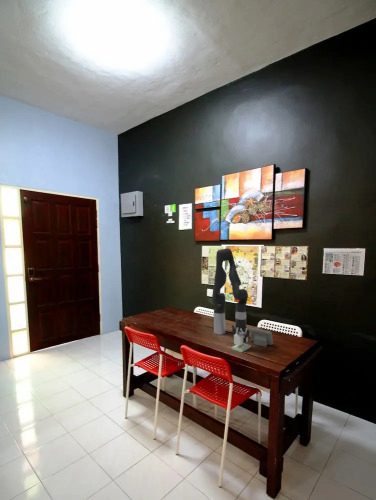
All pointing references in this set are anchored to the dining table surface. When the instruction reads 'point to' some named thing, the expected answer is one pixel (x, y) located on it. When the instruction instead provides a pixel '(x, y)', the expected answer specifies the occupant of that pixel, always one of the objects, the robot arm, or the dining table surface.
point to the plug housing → (239, 338)
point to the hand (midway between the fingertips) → (240, 341)
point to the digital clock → (261, 337)
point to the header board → (241, 347)
